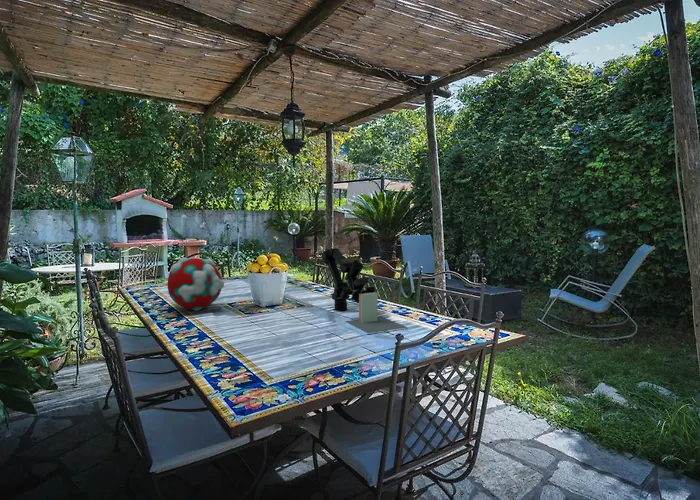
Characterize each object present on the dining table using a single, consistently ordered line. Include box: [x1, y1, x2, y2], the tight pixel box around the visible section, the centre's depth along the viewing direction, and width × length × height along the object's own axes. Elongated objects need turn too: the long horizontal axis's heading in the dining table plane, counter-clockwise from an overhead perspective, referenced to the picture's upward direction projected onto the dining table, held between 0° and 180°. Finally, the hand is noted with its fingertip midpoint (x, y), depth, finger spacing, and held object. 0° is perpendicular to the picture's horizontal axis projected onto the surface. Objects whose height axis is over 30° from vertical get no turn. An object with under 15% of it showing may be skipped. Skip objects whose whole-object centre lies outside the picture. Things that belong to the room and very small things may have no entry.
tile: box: [358, 292, 379, 323], centre depth 209 cm, size 3×9×14 cm, turn 117°
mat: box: [344, 316, 409, 336], centre depth 203 cm, size 24×22×1 cm
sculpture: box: [166, 257, 225, 311], centre depth 237 cm, size 32×30×30 cm
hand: (363, 305), depth 213 cm, fingers closed
